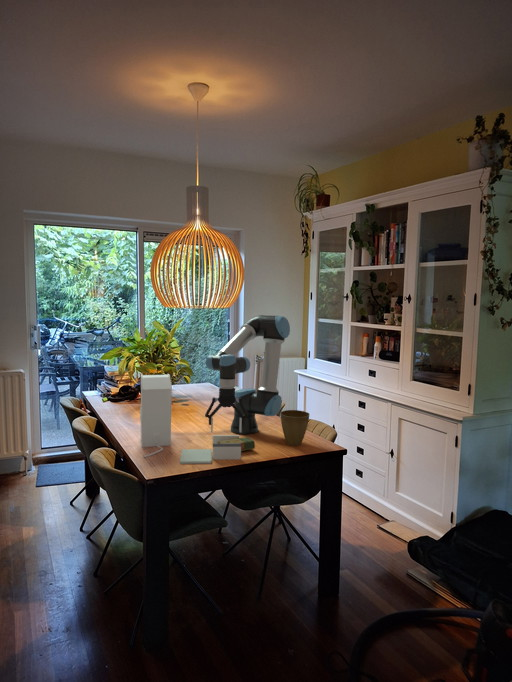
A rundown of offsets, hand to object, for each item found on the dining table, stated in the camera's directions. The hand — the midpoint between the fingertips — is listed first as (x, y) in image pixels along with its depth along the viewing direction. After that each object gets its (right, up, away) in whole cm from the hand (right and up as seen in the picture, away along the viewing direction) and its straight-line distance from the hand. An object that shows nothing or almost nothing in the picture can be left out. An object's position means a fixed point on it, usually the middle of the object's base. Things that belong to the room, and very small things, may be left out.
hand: (226, 431), depth 237 cm
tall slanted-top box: (-35, -9, +9) cm, 38 cm away
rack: (0, -10, +1) cm, 10 cm away
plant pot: (+34, -10, +18) cm, 39 cm away
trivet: (-13, -11, -6) cm, 18 cm away
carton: (0, -12, +1) cm, 13 cm away
